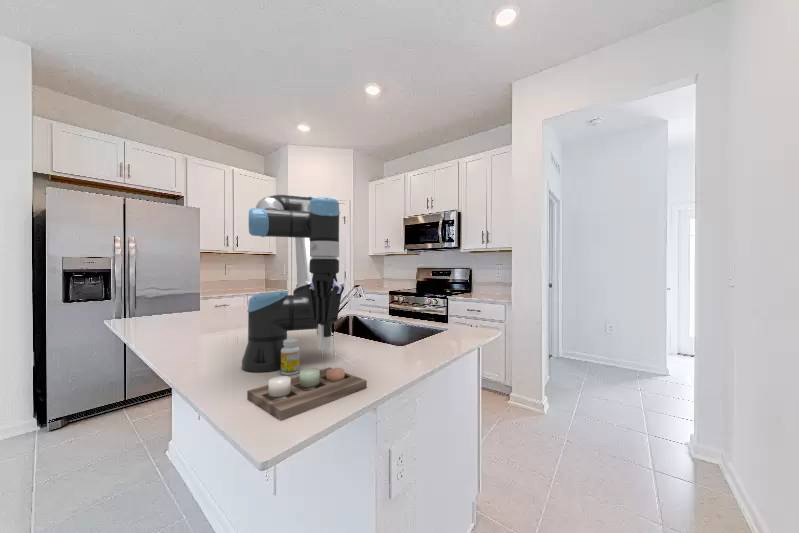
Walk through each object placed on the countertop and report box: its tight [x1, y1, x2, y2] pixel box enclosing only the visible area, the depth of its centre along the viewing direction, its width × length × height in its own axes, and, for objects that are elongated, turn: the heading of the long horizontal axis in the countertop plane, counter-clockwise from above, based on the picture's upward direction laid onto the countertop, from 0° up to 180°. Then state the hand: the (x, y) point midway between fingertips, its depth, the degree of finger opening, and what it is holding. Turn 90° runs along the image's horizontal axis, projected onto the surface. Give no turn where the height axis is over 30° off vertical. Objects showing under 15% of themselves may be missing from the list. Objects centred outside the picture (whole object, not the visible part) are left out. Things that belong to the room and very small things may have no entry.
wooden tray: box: [246, 367, 368, 421], centre depth 81 cm, size 16×24×2 cm, turn 138°
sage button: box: [299, 367, 321, 388], centre depth 81 cm, size 5×5×3 cm
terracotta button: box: [326, 367, 346, 383], centre depth 87 cm, size 5×5×3 cm
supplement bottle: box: [280, 338, 301, 376], centre depth 97 cm, size 5×5×10 cm
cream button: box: [268, 375, 291, 398], centre depth 75 cm, size 5×5×3 cm
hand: (324, 348), depth 84 cm, fingers closed
